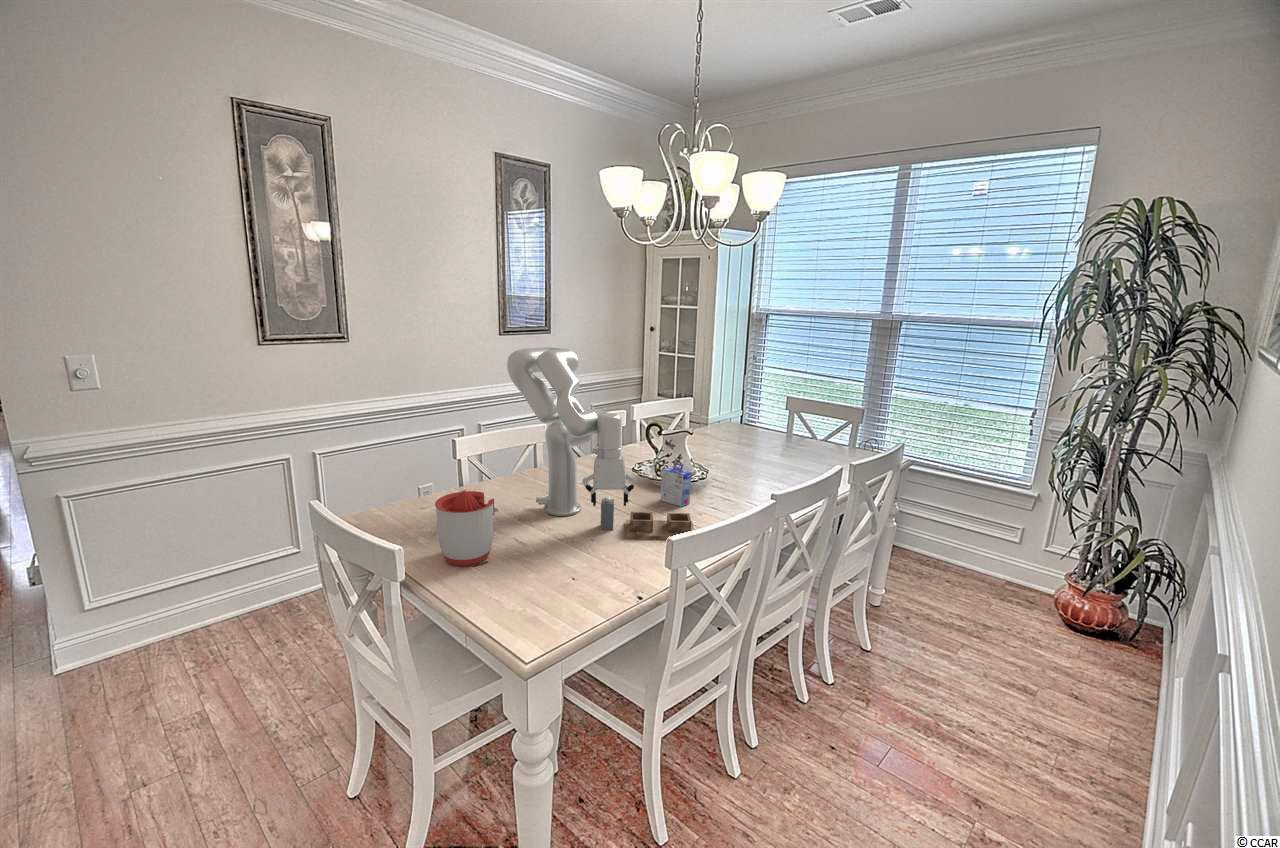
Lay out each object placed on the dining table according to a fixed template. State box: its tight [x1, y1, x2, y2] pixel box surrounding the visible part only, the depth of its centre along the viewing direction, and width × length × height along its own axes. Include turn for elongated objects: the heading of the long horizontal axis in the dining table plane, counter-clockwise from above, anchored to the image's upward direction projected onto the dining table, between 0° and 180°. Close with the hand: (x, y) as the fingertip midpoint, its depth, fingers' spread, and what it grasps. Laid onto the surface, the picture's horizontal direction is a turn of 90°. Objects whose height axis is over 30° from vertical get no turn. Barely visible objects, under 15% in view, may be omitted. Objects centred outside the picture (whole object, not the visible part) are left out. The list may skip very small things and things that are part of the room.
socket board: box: [625, 511, 695, 541], centre depth 179 cm, size 22×12×5 cm, turn 91°
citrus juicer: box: [434, 490, 500, 567], centre depth 157 cm, size 16×17×20 cm
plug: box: [600, 496, 615, 531], centre depth 180 cm, size 4×4×10 cm
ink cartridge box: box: [660, 462, 692, 507], centre depth 204 cm, size 10×6×14 cm, turn 51°
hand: (609, 504), depth 179 cm, fingers open, 9 cm apart
